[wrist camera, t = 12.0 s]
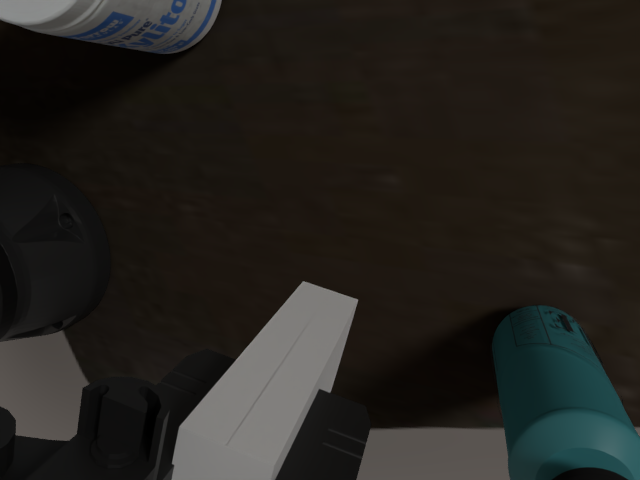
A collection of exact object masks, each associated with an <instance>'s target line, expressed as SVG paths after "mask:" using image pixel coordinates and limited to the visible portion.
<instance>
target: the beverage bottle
mask: <svg viewBox="0 0 640 480" xmlns="http://www.w3.org/2000/svg"><path fill="white" fill-rule="evenodd" d="M558 309H559V308H558ZM558 309H556V308H555V307H554V308H553V307H552V306H550V307H549V306H546V305H532V306H526V307H523V308H520V309H517V310H515V311H513V312H511V313H510V314H509V315H507V316H506V317H505V318H504V319H503V320H502V322H501V323H500V324H499V326H498V327H497V329H496V331H495V333H494V337H491V338H492V340H493V342H492V343H491V344H492V349H491V351H493V358H494V365H495V372H496V375H495V374H494V369H493V376H494V375H495V376H496V379H497V386H498V393H499V400H500V405H501V410H502V415H503V418H502V419H503V422H504V430H505V436H506V444H507V451H508V469H509V476H510V480H640V437H639V435H638V434H637V432H636V430H635V428H634V426H633V424H632V423H631V421H632V420H631V421H630V419H629V417H628V416H627V414H626V412H625V410H624V408H623V400H622V403H621V401H620V399H619V397H618V395H617V393H616V392H615V390H614V388H613V386H612V384H611V382H610V380H609V379H610V378H609V377H607V375H606V373H605V371H604V368H602V366H601V364H600V362H601V363H602V361H601V359H600V357H599V358H598V356H599V355H596V352H597V351H596V352H594V351H593V349H592V347H591V346H590V344H591V345H592V343H591V340H590V339H589V338H588V337H589V336H588V335H587V334H586V332H585V330H584V329H583V328H582V327H580V326H579V325H578V323H577V322H579V321H578V320H577V319H576V320H577V322H576V321H575V320H574V319H573V318H572V317H570V316H569V315H568V314H569V313H568V314H566V313H564V312H563V311H561V309H560V310H558ZM571 316H572V315H571ZM579 324H580V322H579ZM581 328H582V329H581ZM582 330H583V331H582ZM583 332H584V333H585V334H584V333H583ZM585 335H586V336H585ZM586 337H587V338H586ZM587 339H588V340H587ZM588 341H589V342H588ZM589 343H590V344H589ZM592 346H594V345H592ZM490 347H491V346H490ZM594 349H595V347H594ZM595 350H596V349H595ZM491 354H492V352H491ZM597 354H598V353H597ZM596 356H597V357H596ZM493 358H492V359H493ZM492 359H491V361H492ZM598 359H599V360H600V361H599V360H598ZM492 362H493V361H492ZM492 364H493V363H492ZM602 365H604V364H602ZM492 366H493V365H492ZM493 367H494V366H493ZM494 378H495V377H494ZM608 378H609V379H608ZM613 384H614V383H613ZM495 386H496V385H495ZM496 393H497V392H496ZM621 397H622V396H621ZM497 400H498V399H497ZM497 404H498V403H497ZM498 408H499V406H498ZM499 411H500V410H499ZM500 414H501V413H500ZM501 417H502V416H501Z"/></svg>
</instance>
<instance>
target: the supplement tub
mask: <svg viewBox="0 0 640 480" xmlns="http://www.w3.org/2000/svg"><path fill="white" fill-rule="evenodd" d="M221 1H222V0H0V20H2V21H5V22H8V23H11V24H14V25H18V26H20V27H23V28H26V29H29V30H32V31H35V32H39V33H44V34H49V35H54V36H60V37H66V38H71V39H77V40H82V41H88V42H94V43H100V44H105V45H111V46H117V47H123V48H129V49H135V50H140V51H146V52H152V53H159V54H170V53H176V52H180V51H183V50H186V49H188V48H190V47H192V46H193V45H195V44H196V43H197V42H199V41H200V40H201V39H202V38H203V37H204V36H205V35H206V34H207V33H208V31H209V30H210V29H211V27H212V25H213V23H214V21H215V19H216V17H217V14H218V12H219V9H220V5H221Z"/></svg>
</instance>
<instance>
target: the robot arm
mask: <svg viewBox="0 0 640 480" xmlns="http://www.w3.org/2000/svg"><path fill="white" fill-rule="evenodd" d="M109 275H110V251H109V245H108V240H107V237H106V233H105V230H104V228H103V225H102V223H101V221H100V219H99V217H98V215H97V213H96V211H95V210H94V208H93V206H92V205H91V204H90V202H89V201H88V199H87V198H86V197H85V196H84V195H83V194H82V192H81V191H80V190H79V189H78V188H77V187H76V186H74V185H73V184H72V183H71V182H70V181H68V180H67V179H66V178H64V177H63V176H61V175H60V174H58V173H56V172H54V171H52V170H50V169H47V168H45V167H42V166H38V165H34V164H26V163H18V164H10V165H4V166H0V342H1V341H8V340H15V339H22V338H29V337H35V336H42V335H48V334H52V333H56V332H59V331H61V330H64V329H66V328H68V327H69V326H71V325H73V324H74V323H76V322H78V321H80V320H81V319H83V318H85V317H86V316H87V315H89V314H90V313H91V312H92V311H93V310H94V309H95V308H96V306H97V305H98V304H99V302H100V301H101V299H102V297H103V295H104V293H105V291H106V288H107V285H108V281H109ZM357 302H358V300H357V299H354V298H351V297H348V296H345V295H342V294H340V293H337V292H334V291H331V290H328V289H325V288H322V287H319V286H316V285H313V284H310V283H307V282H304V281H303V282H302V283H301V285H300V286H299V287H298V288H297V289H296V290H295V292H294V293H293V294H292V295H291V296H290V298H289V299H288V300H287V301H286V302H285V303H284V305H283V306H282V307H281V308H280V309H279V310H278V312H277V313H276V314H275V315H274V316H273V317H272V319H271V320H270V321H269V322H268V323H267V324H266V326H265V327H264V328H263V329H262V330H261V332H260V333H259V334H258V335H257V336H256V337H255V339H254V340H253V341H252V342H251V343H250V344H249V346H248V347H247V348H246V349H245V350H244V351H243V353H242V354H241V355H240V356H239V357H238V358H237V360H236V359H233V358H230V357H227V356H225V355H222V354H219V353H217V352H214V351H211V350H209V349H205V350H203V351H200V352H197V353H195V354H192V355H189V356H187V357H185V358H184V359H183V360H182V361H181V362H180V363H179V364H178V365H177V366H176V367H175V368H174V369H173V371H172V372H170V373H169V374H168V375H166V376H165V377H164V378H163V379H162V380H161V383H158V384H157V385H154V384H152V383H150V382H149V381H145V380H141V379H137V378H133V377H111V378H106V379H102V380H97V381H95V382H93V383H91V384H89V385H88V386H86V387H84V388H83V391H82V399H81V406H80V414H79V422H78V430H77V434H76V435H75V437H73V438H72V439H71V440H70V441H57V440H56V441H55V440H46V439H39V438H31V437H24V436H16V435H15V433H16V420H15V418H14V417H13V416H12V415H11V413H10V412H9V411H8V410H6V409H4V408H2V407H0V480H356V478H357V475H358V471H359V467H360V464H361V460H362V456H363V453H364V449H365V445H366V442H367V438H368V435H369V431H370V427H371V422H370V419H369V415H368V412H367V409H366V406H364V405H362V404H359V403H356V402H354V401H351V400H348V399H346V398H343V397H340V396H337V395H335V394H332V393H330V392H331V389H332V386H333V383H334V379H335V376H336V373H337V369H338V366H339V363H340V359H341V356H342V353H343V349H344V346H345V343H346V339H347V336H348V333H349V329H350V326H351V322H352V319H353V316H354V312H355V309H356V306H357Z"/></svg>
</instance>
